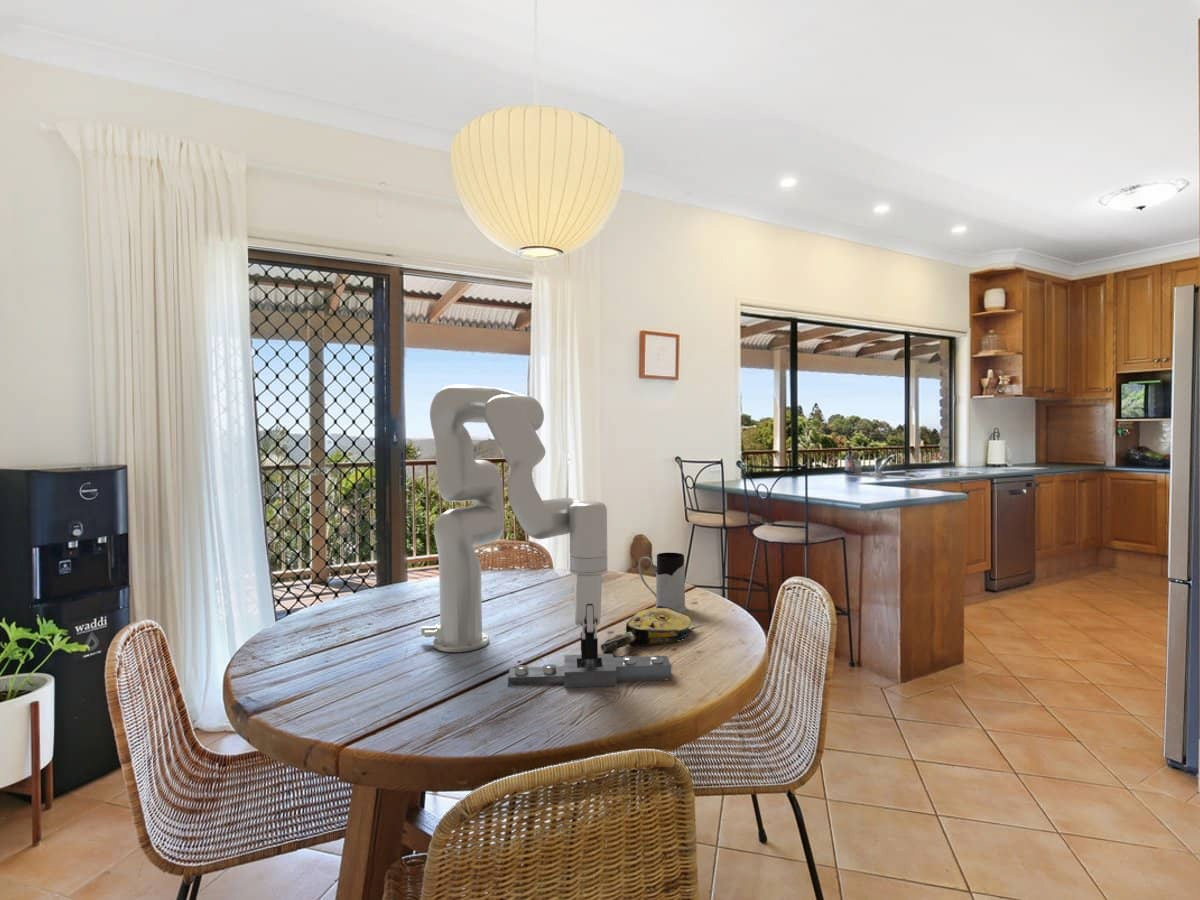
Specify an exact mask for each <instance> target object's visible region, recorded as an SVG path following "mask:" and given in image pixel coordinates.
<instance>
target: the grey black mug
mask: <svg viewBox="0 0 1200 900" xmlns="http://www.w3.org/2000/svg"><path fill="white" fill-rule="evenodd" d="M643 559H647V560H649V562H650V565H651V572H652V573H653V574H655V575H656V576H655V579H656V580H655V581H656V582H655V584H656V587H655V589H656V592H655V591H654V590H653V588H651V587H650V586H649V585H648V583H647V582H646V581H645V579H644V577H643V573H642V570H641V569H642V568H641V562H642V560H643ZM685 568H686V565H685V555H684V554H682V553H678V552H659V553H657V554H656V571H655V570H654V562H653V560H652V559H651V558H650V557H649V556H643V557H641V558H640V559H639V561H638V572H639V576H640V579H641V581H642V583H643V584H644V586H646V588H647V589H648V590H649V591H650V592H651V593H652V594H653V595H654V597H655V599H656V602H655V603H656V604H655V607H654V608H656V607H657V606H664V607H669V608H672V609H674V610H676V611H679V612H680V613H681V614H683V613H686V612H687V606H686V595H685V594H686V584H685V583H686V580H685V579H686V577H685V576H686V572H685V571H686V569H685ZM682 612H683V613H682Z"/></svg>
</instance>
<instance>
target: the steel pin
mask: <svg viewBox="0 0 1200 900" xmlns="http://www.w3.org/2000/svg"><path fill="white" fill-rule="evenodd" d="M584 623H587V621H585V620H584ZM593 623H594V620H593ZM596 624H597V623H596ZM579 625H580V626H582V624H579ZM593 628H594V627H593ZM585 629H587V627H585ZM596 629H597V630H598V625H597V626H596ZM581 632H582V631H581ZM582 638H583V632H582ZM589 667H597V659H582V668H589Z"/></svg>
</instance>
